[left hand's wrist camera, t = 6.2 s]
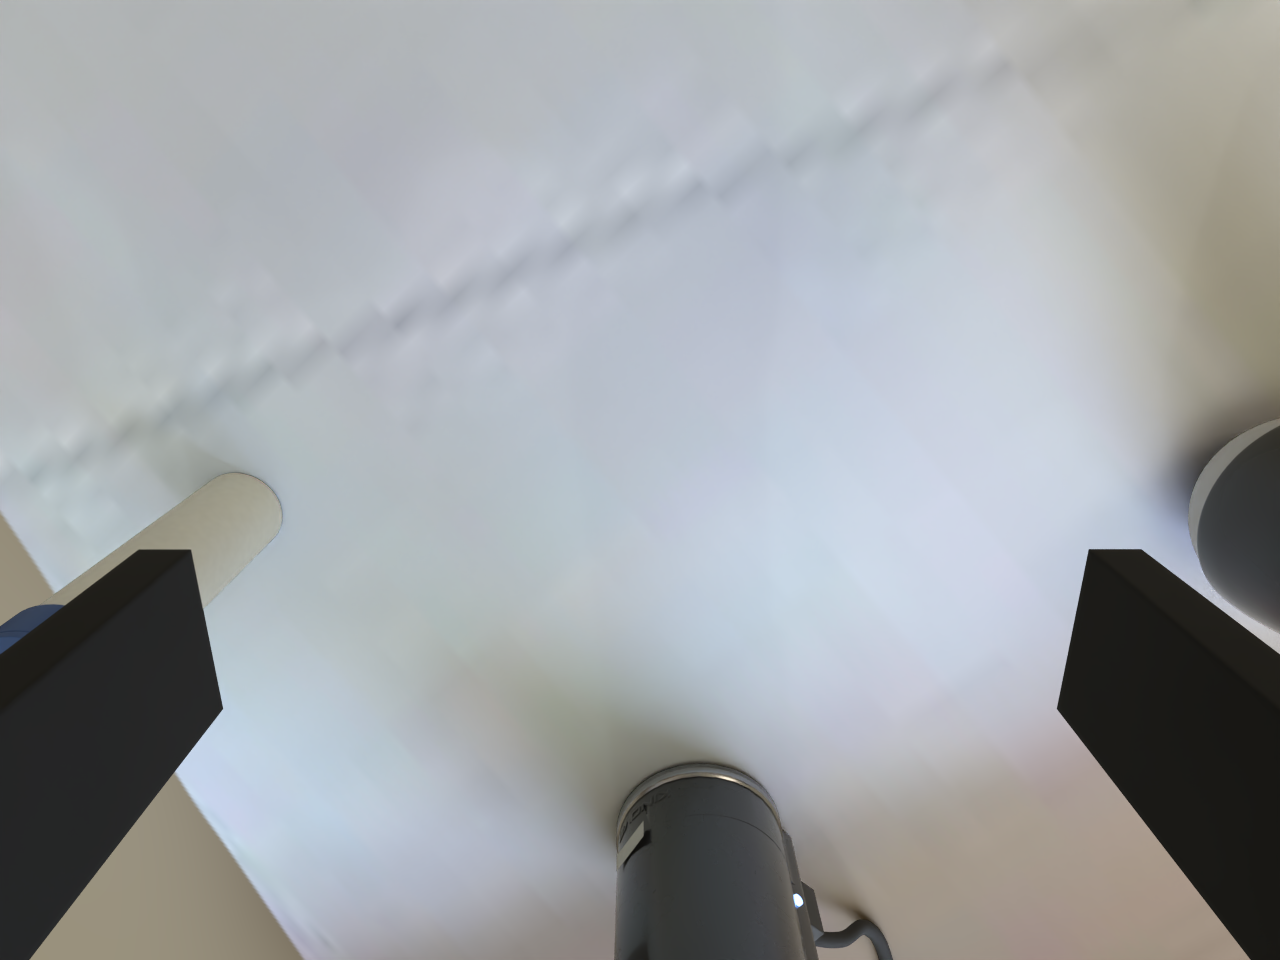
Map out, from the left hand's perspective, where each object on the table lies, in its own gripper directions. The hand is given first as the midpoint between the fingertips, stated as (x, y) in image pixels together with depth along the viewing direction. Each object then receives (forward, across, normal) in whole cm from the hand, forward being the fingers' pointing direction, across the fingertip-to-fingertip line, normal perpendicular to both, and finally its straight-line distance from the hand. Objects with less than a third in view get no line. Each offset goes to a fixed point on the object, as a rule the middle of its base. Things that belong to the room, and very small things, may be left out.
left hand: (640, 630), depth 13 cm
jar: (+28, -20, -10) cm, 36 cm away
